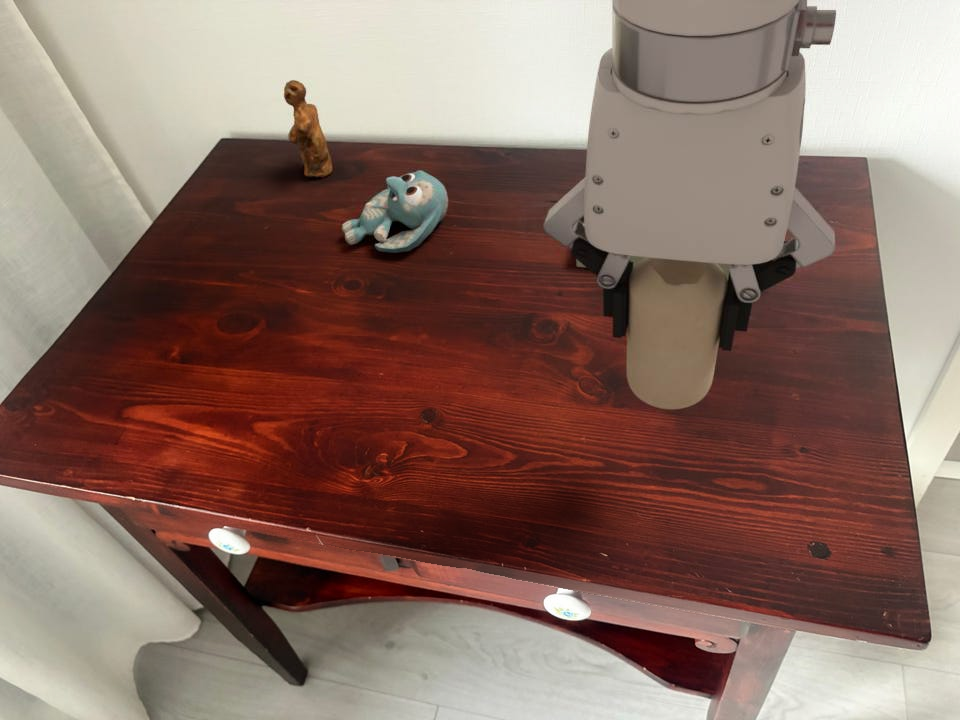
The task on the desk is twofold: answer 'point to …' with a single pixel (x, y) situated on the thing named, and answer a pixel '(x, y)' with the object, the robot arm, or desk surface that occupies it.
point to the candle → (674, 330)
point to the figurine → (307, 132)
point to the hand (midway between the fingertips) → (673, 325)
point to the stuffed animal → (401, 212)
